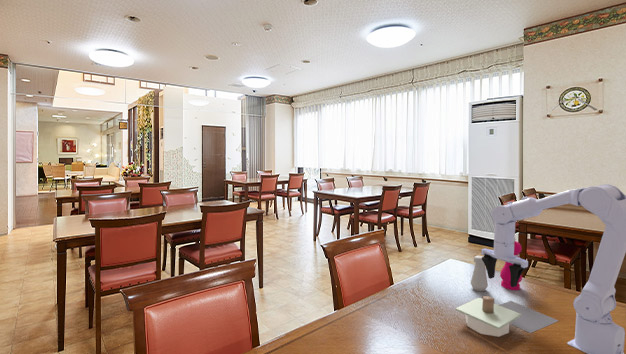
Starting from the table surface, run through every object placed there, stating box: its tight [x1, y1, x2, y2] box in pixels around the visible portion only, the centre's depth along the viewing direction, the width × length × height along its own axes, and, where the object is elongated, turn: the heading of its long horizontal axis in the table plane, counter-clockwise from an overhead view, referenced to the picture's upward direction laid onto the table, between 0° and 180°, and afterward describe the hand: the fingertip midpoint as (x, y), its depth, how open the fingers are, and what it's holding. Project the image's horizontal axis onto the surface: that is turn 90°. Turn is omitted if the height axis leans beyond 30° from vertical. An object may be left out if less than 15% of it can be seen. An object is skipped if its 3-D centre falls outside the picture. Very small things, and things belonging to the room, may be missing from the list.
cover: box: [455, 295, 521, 329], centre depth 98 cm, size 13×13×5 cm
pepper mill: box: [499, 238, 523, 291], centre depth 125 cm, size 7×7×20 cm
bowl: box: [464, 315, 510, 337], centre depth 98 cm, size 11×11×4 cm
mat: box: [498, 300, 559, 334], centre depth 104 cm, size 15×15×1 cm
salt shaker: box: [470, 255, 489, 292], centre depth 123 cm, size 6×6×13 cm
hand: (502, 281), depth 107 cm, fingers open, 7 cm apart
